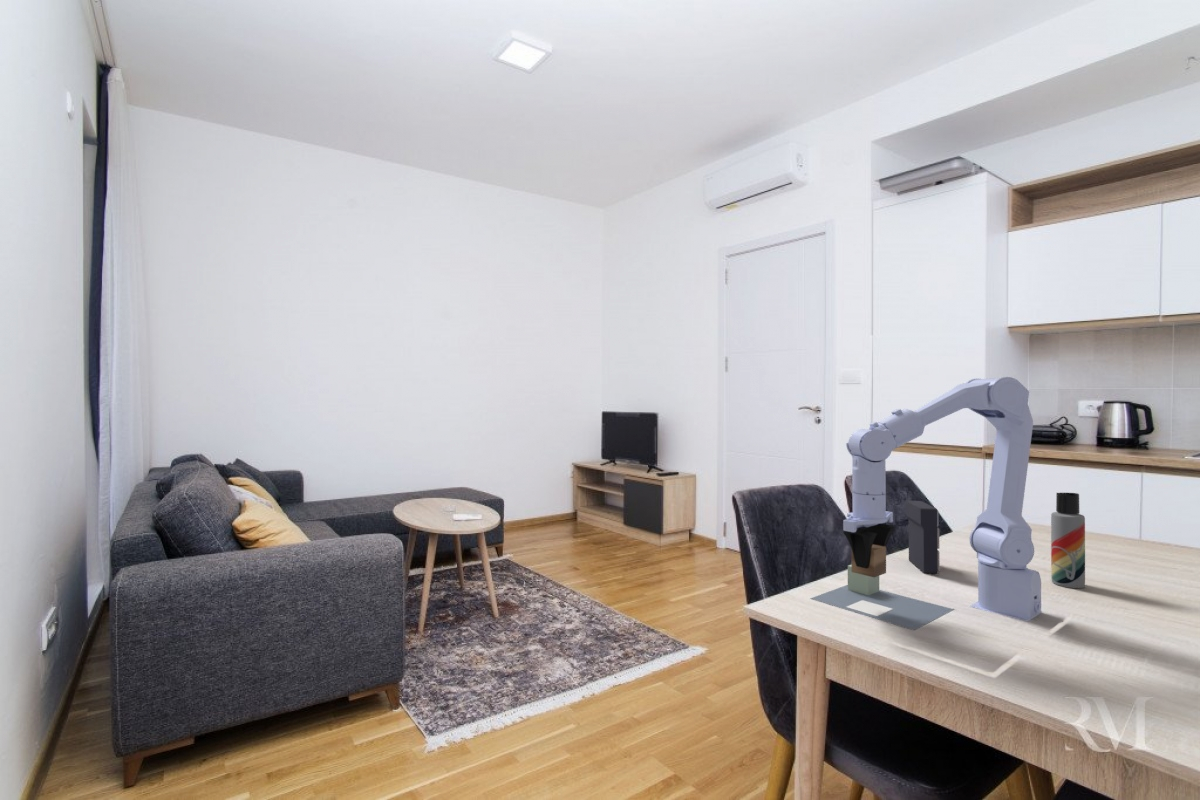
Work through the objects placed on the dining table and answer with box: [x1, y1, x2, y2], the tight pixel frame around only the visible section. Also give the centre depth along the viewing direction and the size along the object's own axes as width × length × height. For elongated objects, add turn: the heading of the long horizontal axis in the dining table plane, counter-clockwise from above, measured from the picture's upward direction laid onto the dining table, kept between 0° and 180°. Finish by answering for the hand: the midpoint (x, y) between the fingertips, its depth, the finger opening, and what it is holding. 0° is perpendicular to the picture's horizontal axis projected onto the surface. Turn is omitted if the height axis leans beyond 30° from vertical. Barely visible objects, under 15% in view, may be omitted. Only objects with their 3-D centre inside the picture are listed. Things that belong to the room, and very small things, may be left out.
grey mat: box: [809, 584, 955, 631], centre depth 112 cm, size 20×16×1 cm
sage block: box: [847, 564, 880, 595], centre depth 120 cm, size 4×4×5 cm
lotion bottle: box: [1050, 492, 1086, 589], centre depth 125 cm, size 6×6×20 cm
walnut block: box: [850, 544, 887, 577], centre depth 110 cm, size 4×4×5 cm
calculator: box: [905, 500, 941, 575], centre depth 138 cm, size 11×4×15 cm, turn 168°
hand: (869, 564), depth 110 cm, fingers closed on walnut block, 4 cm apart
